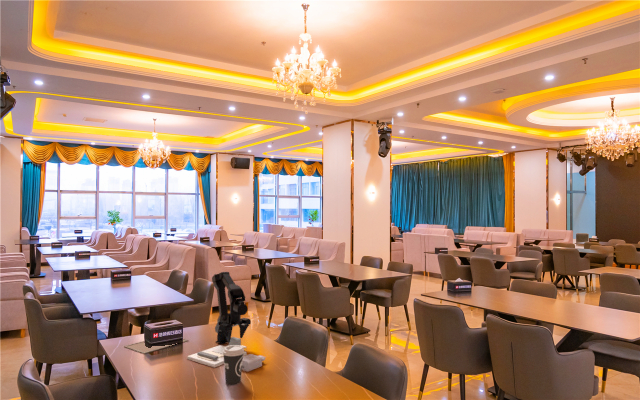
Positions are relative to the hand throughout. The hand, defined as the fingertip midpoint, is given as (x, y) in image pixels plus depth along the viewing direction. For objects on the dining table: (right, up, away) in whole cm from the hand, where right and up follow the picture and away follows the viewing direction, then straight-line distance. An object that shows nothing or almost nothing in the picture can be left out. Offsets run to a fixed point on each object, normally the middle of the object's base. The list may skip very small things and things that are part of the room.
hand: (235, 340), depth 232 cm
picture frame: (-46, -6, +11) cm, 48 cm away
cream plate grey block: (0, -4, 0) cm, 4 cm away
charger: (+13, -6, -21) cm, 26 cm away
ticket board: (-7, -5, -10) cm, 13 cm away
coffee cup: (+8, -5, -42) cm, 43 cm away
